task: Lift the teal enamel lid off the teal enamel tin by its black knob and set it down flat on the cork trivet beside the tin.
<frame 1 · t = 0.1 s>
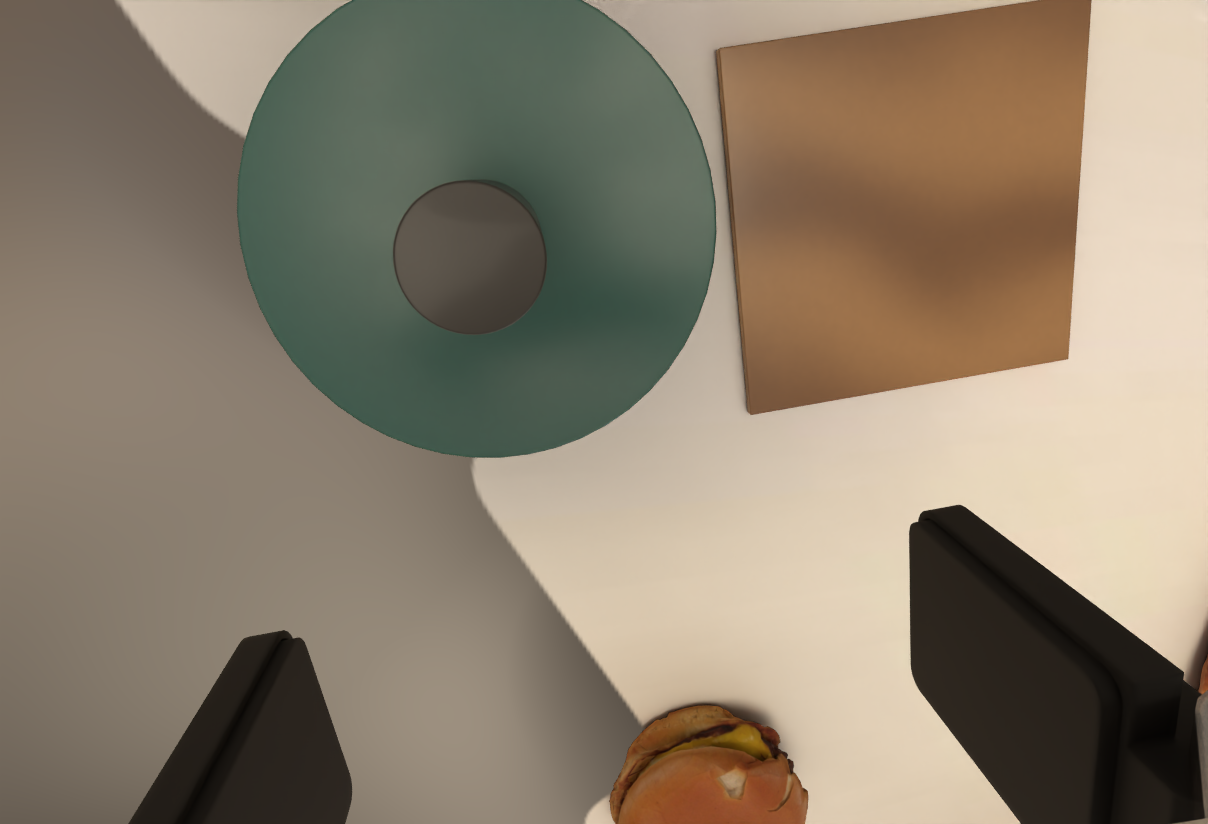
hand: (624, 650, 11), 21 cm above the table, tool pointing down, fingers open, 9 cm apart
trivet: (904, 217, 31), on the table
tin lid: (486, 237, 21), point 8 cm above the table, touching enamel tin
burger: (696, 768, 39), on the table
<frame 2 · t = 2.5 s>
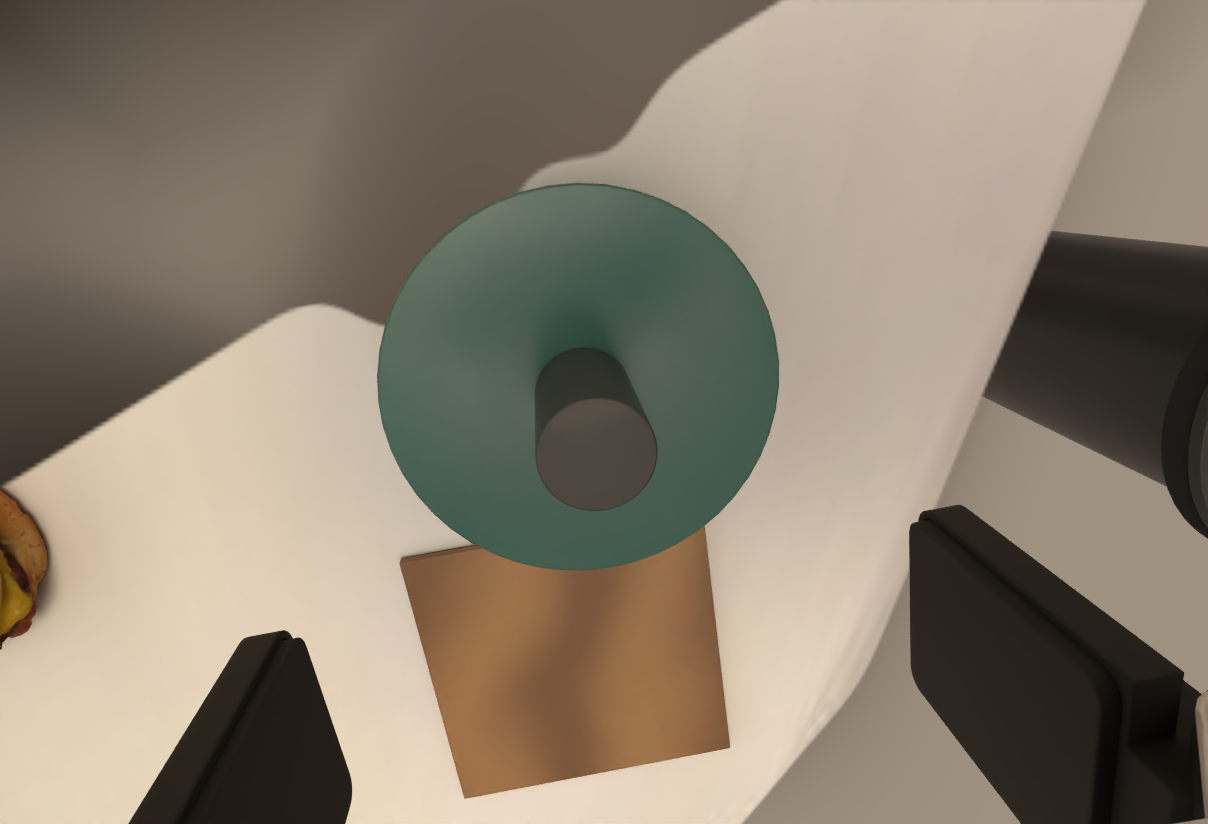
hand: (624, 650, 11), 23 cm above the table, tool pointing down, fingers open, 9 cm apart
trivet: (576, 656, 38), on the table
tin lid: (582, 389, 24), point 8 cm above the table, touching enamel tin
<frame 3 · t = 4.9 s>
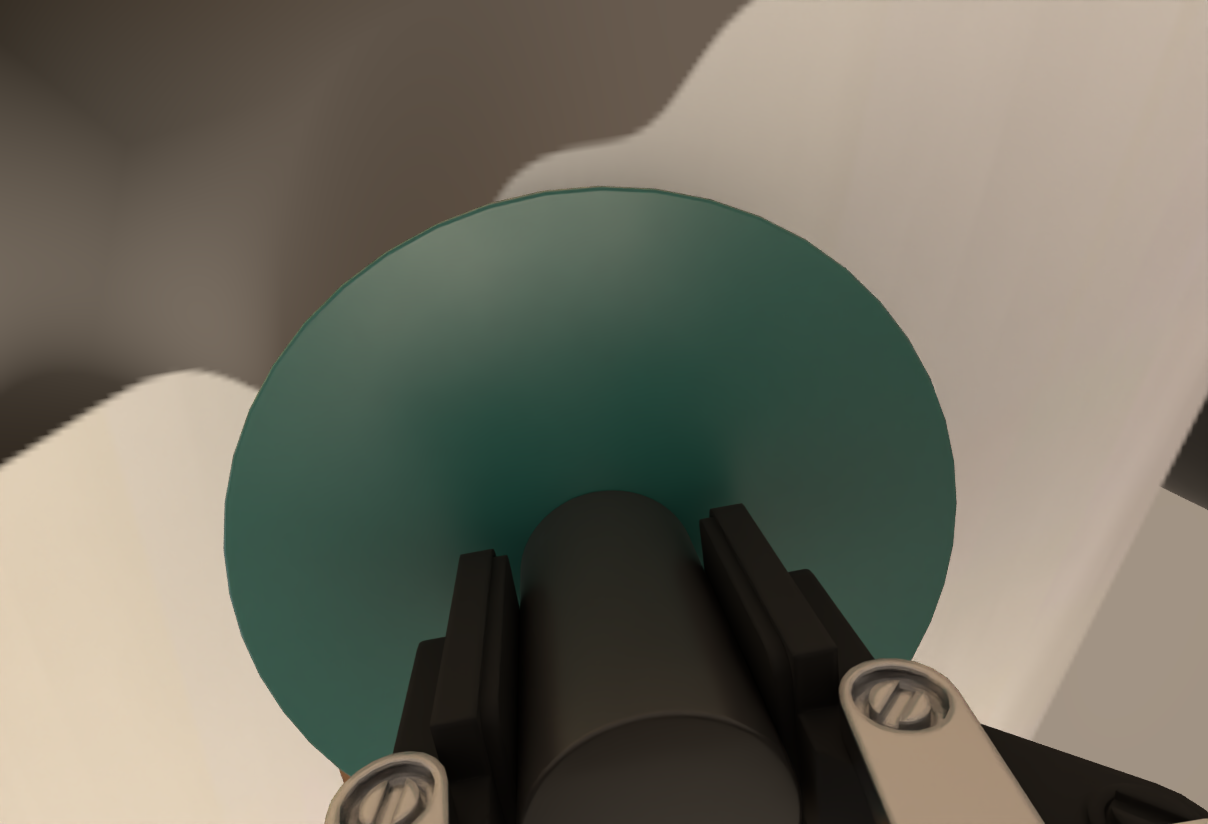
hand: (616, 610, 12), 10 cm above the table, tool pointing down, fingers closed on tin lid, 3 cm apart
tin lid: (604, 552, 14), point 9 cm above the table, touching enamel tin, gripper
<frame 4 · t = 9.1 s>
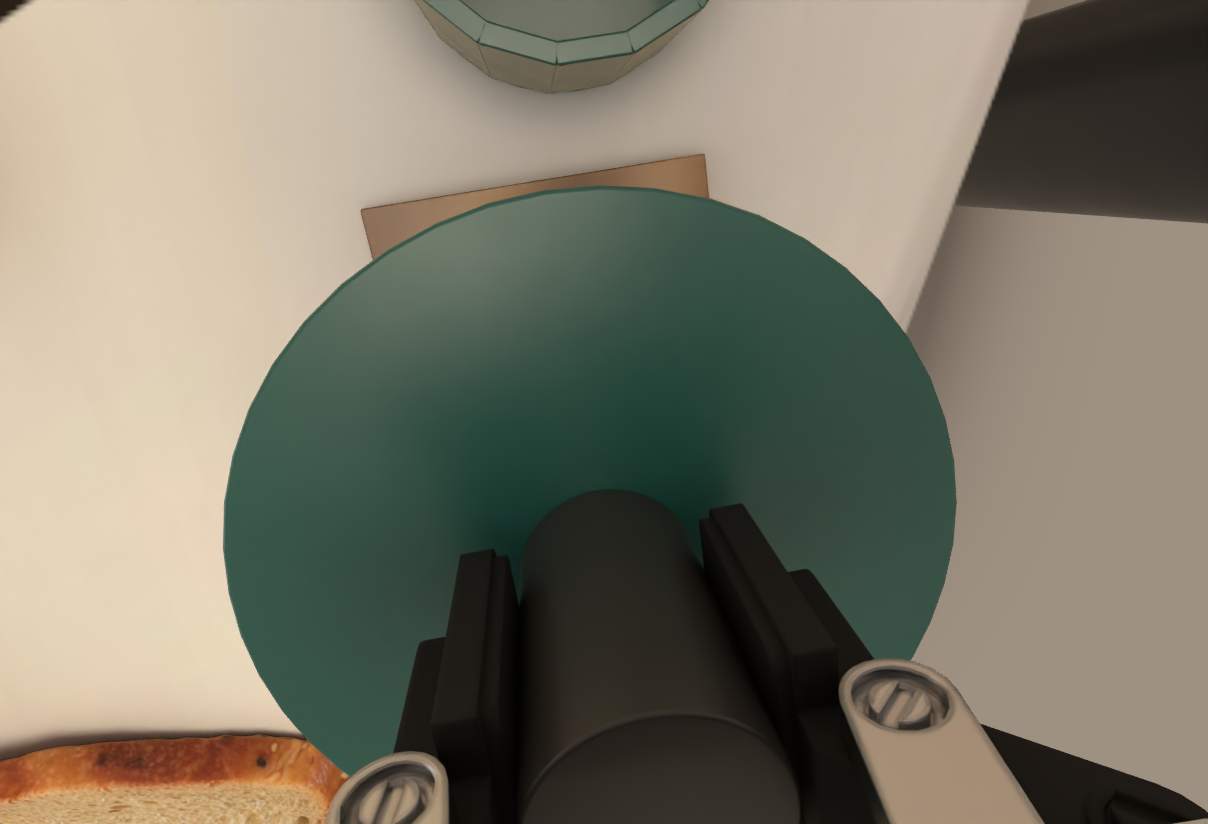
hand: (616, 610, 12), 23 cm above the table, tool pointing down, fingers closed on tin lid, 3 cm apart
trivet: (563, 346, 34), on the table
tin lid: (604, 552, 14), point 21 cm above the table, touching gripper
bread slice: (153, 795, 39), on the table
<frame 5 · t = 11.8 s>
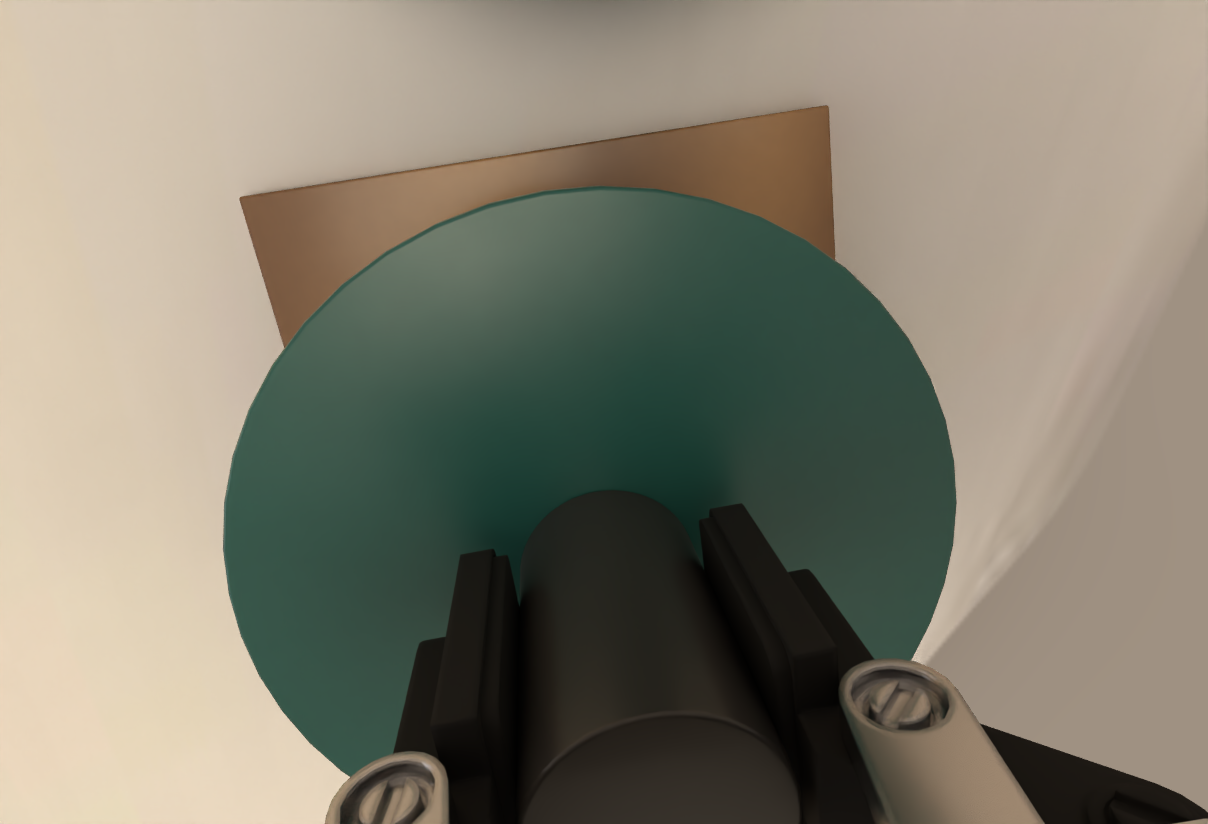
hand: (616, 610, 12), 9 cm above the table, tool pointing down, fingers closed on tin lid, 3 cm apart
trivet: (584, 421, 21), on the table
tin lid: (604, 552, 14), point 8 cm above the table, touching gripper
when the fingers open (3 cm above the table, at t = 13.6 s): tin lid stays where it is, resting on trivet.
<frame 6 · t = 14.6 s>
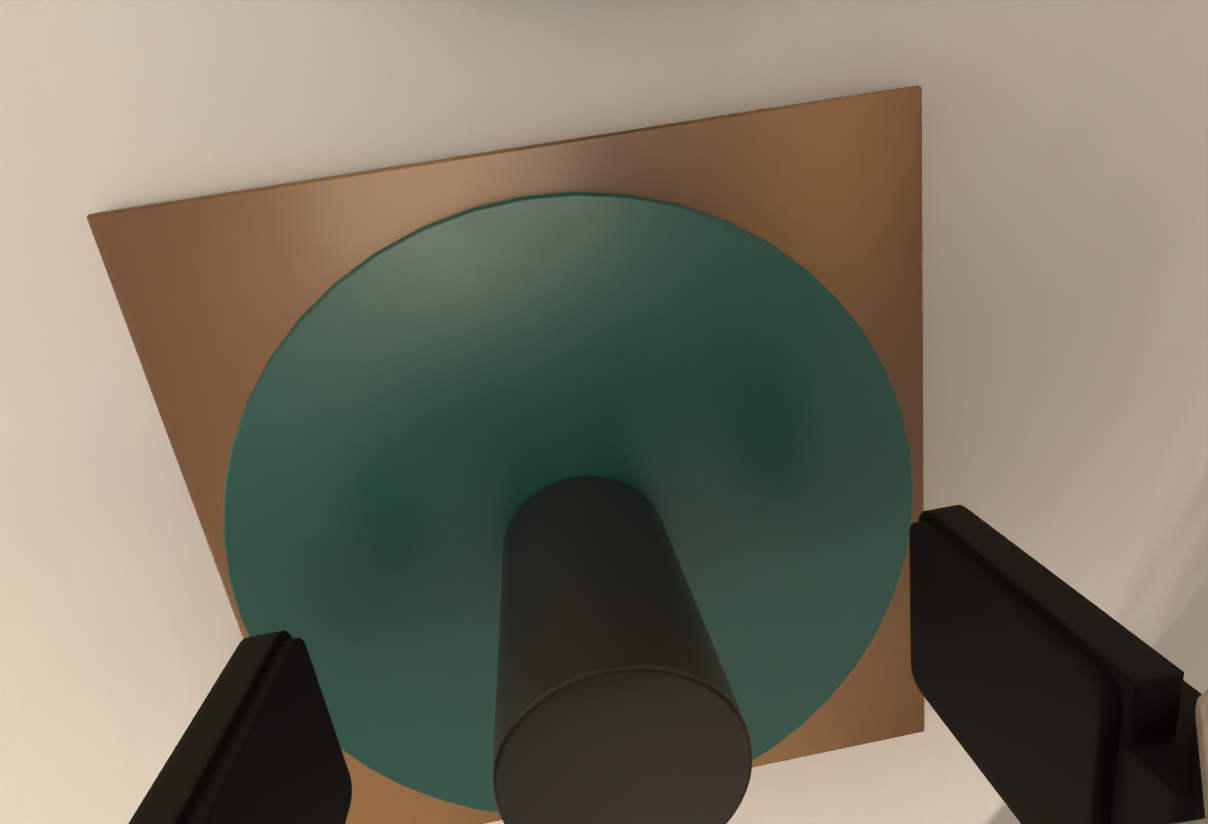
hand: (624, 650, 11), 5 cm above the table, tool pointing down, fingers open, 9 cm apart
trivet: (582, 511, 16), on the table
tin lid: (583, 536, 15), point 1 cm above the table, touching trivet
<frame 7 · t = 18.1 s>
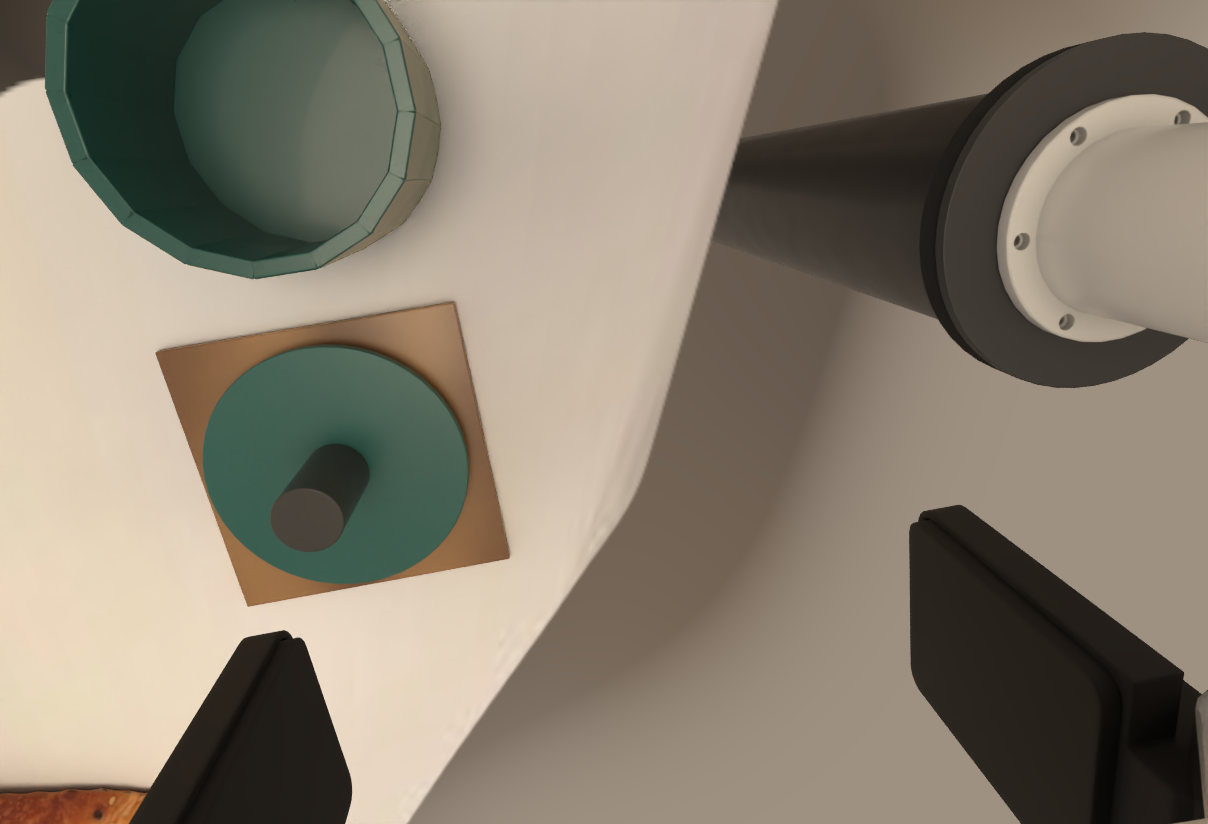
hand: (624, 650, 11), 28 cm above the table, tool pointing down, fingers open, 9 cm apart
trivet: (347, 459, 39), on the table
tin lid: (341, 467, 38), point 1 cm above the table, touching trivet
enamel tin: (305, 119, 34), on the table
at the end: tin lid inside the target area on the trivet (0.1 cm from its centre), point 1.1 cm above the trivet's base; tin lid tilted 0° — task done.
